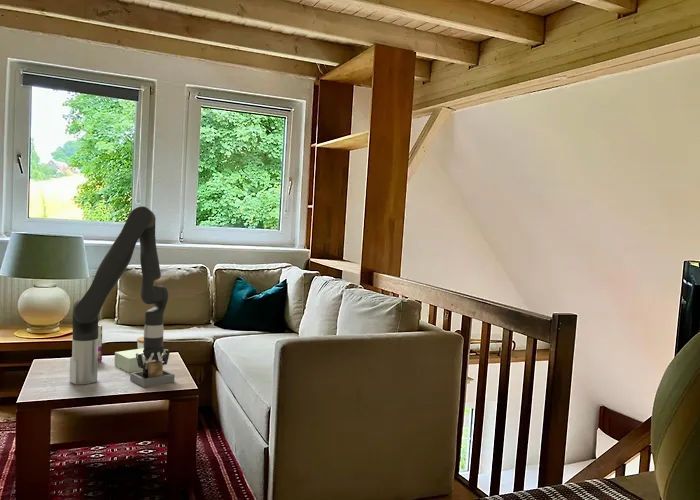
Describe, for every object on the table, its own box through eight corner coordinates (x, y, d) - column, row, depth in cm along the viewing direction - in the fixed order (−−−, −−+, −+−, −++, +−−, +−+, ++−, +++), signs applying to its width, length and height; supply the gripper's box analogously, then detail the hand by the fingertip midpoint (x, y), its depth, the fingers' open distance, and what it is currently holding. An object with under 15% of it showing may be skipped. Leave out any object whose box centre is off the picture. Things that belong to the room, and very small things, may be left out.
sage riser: (128, 372, 241) (129, 358, 240) (114, 365, 250) (114, 352, 250) (159, 367, 251) (159, 354, 250) (144, 360, 260) (145, 348, 260)
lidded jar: (138, 357, 265) (138, 338, 265) (135, 352, 275) (136, 333, 274) (161, 356, 270) (162, 337, 269) (159, 351, 280) (159, 332, 279)
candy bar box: (96, 359, 260) (97, 323, 259) (102, 361, 257) (103, 325, 256) (72, 363, 251) (72, 326, 250) (77, 365, 248) (78, 328, 247)
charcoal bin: (143, 387, 222) (144, 379, 221) (130, 380, 230) (130, 373, 230) (174, 381, 231) (174, 374, 231) (160, 375, 239) (160, 368, 239)
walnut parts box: (150, 384, 226) (151, 364, 226) (142, 380, 231) (142, 360, 231) (162, 382, 230) (162, 362, 229) (153, 378, 235) (154, 359, 234)
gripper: (141, 339, 222) (139, 381, 222) (174, 334, 232) (173, 375, 233) (132, 335, 227) (131, 377, 228) (165, 331, 237) (164, 371, 238)
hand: (152, 376), depth 230 cm, fingers closed on walnut parts box, 5 cm apart
